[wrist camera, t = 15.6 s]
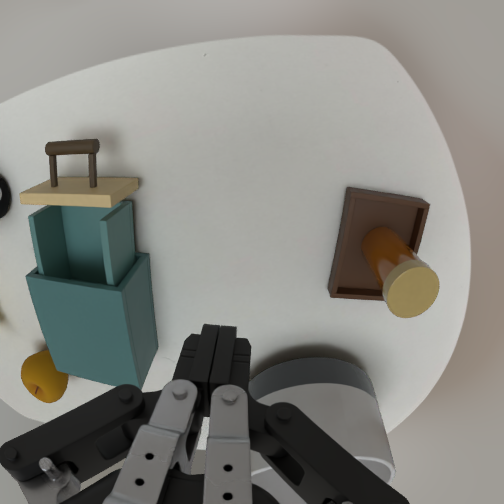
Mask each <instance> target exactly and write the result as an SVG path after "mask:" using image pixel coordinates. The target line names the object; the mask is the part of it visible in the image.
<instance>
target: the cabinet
mask: <svg viewBox="0 0 504 504" xmlns="http://www.w3.org/2000/svg"><path fill="white" fill-rule="evenodd" d="M135 257H136V263H135V264H134V266H133V267H132V268H131V270H130V271H129V272H128V274H127V275H126V276H125V278H124V279H123V280H122V282H121V283H120V284H119V286H118V287H114V286H107V285H100V284H94V283H87V282H81V281H74V280H68V279H62V278H56V277H50V276H44V275H39V271H38V267H36V268H34V269H33V270H32V271H31V272H30V273H28V274H27V275H26V280H27V284H28V287H29V291H30V295H31V298H32V302H33V305H34V308H35V311H36V315H37V318H38V321H39V324H40V327H41V330H42V333H43V335H44V338H45V341H46V344H47V346H48V349H49V352H50V354H51V357H52V359H53V362H54V364H55V367H56V369H57V371H60V372H64V373H67V374H70V375H74V376H77V377H81V378H85V379H88V380H92V381H96V382H100V383H104V384H108V385H112V386H116V387H117V386H119V385H122V384H132V385H135V386H137V387H138V388H139V389H140V390H142V387H143V384H144V382H145V379H146V376H147V374H148V371H149V369H150V366H151V364H152V361H153V359H154V356H155V354H156V352H157V349H158V341H157V333H156V325H155V316H154V306H153V296H152V285H151V272H150V258H149V254H147V253H137V252H135Z"/></svg>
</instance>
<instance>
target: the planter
mask: <svg viewBox="0 0 504 504" xmlns="http://www.w3.org/2000/svg"><path fill="white" fill-rule="evenodd" d="M248 390H249V393H250V395H251V396H252V398H253V399H255V400H256V401H258V402H259V403H262V404H265V405H268V406H271V405H272V404H274V403H278V402H288V403H291V404H293V405H295V406H297V407H298V408H299V409H300V410H301V411H302V412H303V413H304V414H305V415H307V416H308V417H309V418H310V419H311V420H312V421H313V422H314V423H315V424H317V425H318V426H319V427H320V428H321V429H322V430H323V431H324V432H326V433H327V434H328V435H329V436H330V437H331V438H332V439H334V440H335V441H336V442H337V443H338V444H339V445H341V446H342V447H343V448H344V449H345V450H346V451H348V452H349V453H350V454H351V455H352V456H354V457H355V458H356V459H357V460H358V461H360V462H361V463H362V464H363V465H364V466H366V467H367V468H368V469H369V470H371V471H372V472H373V473H374V474H376V475H377V476H378V477H379V478H381V479H382V480H383V481H384V482H386V483H387V484H388V485H389V484H390V483H391V482H392V480H393V479H394V477H395V473H396V470H395V465H394V461H393V457H392V454H391V450H390V446H389V442H388V438H387V434H386V431H385V427H384V423H383V420H382V416H381V413H380V409H379V406H378V402H377V399H376V395H375V392H374V389H373V385H372V382H371V380H370V378H369V377H368V375H367V374H366V373H365V372H364V371H363V370H362V369H360V368H359V367H357V366H356V365H354V364H351V363H349V362H346V361H343V360H339V359H334V358H323V357H312V358H302V359H296V360H291V361H287V362H284V363H280V364H278V365H275V366H273V367H270V368H268V369H266V370H265V371H263V372H261V373H260V374H258V375H257V376H255V377H254V378H253V379H252V380H251V381H250V382H249V386H248ZM250 453H251V481H252V483H253V484H256V485H258V486H260V487H262V488H263V489H265V490H266V491H268V492H269V493H270V494H271V495H272V496H273V497H274V498H275V499H276V500H277V501H278V502H279V503H280V504H307V503H306V502H305V501H304V500H303V499H302V498H301V497H300V496H299V495H298V494H297V493H296V492H295V491H294V490H293V489H292V488H291V487H290V486H289V485H288V484H287V483H286V482H285V481H284V480H283V479H282V478H281V477H280V476H279V475H278V474H277V473H276V472H275V471H274V470H273V469H272V468H271V467H270V465H269V464H268V463H267V462H266V461H265V460H264V459H263V458H262V457H261V455H260V453H259V452H256V451H253V450H250Z"/></svg>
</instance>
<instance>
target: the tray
mask: <svg viewBox="0 0 504 504" xmlns="http://www.w3.org/2000/svg"><path fill="white" fill-rule="evenodd" d="M429 206H430V204H429V203H427V202H426V201H424V200H423V199H420V198H414V197H409V196H403V195H397V194H391V193H385V192H378V191H372V190H365V189H358V188H351V187H347V189H346V195H345V201H344V207H343V213H342V218H341V224H340V229H339V235H338V240H337V245H336V250H335V255H334V260H333V265H332V270H331V275H330V279H329V284H328V291H329V294H330V297H331V298H345V299H361V300H379V301H385V300H384V298H383V292H382V290H381V288H380V287H379V285H378V283H377V281H376V279H375V278H374V276H373V274H372V272H371V271H370V269H369V267H368V265H367V264H366V262H365V260H364V258H363V256H362V254H361V244H362V241H363V239H364V237H365V236H366V235H367V234H368V233H369V232H370V231H371V230H373V229H375V228H378V227H389V228H391V229H393V230H394V231H395V232H396V233H397V234H398V235H399V236H400V237H401V238H402V239H403V240H404V241H405V242H406V244H407V245H408V246H409V247H410V248H411V249H412V250H413V251H414V252H415V254H416V255H417V253H418V249H419V246H420V242H421V238H422V235H423V231H424V227H425V223H426V219H427V215H428V211H429V210H428V209H429Z"/></svg>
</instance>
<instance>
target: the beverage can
mask: <svg viewBox="0 0 504 504" xmlns="http://www.w3.org/2000/svg"><path fill="white" fill-rule="evenodd" d="M9 202H10V194H9V190H8V187H7V184H6V183H5V181H4V180H3V179H2V178H1V177H0V218H2V217H3V216H4V215H5V214H6V213H7V210H8V207H9Z"/></svg>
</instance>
